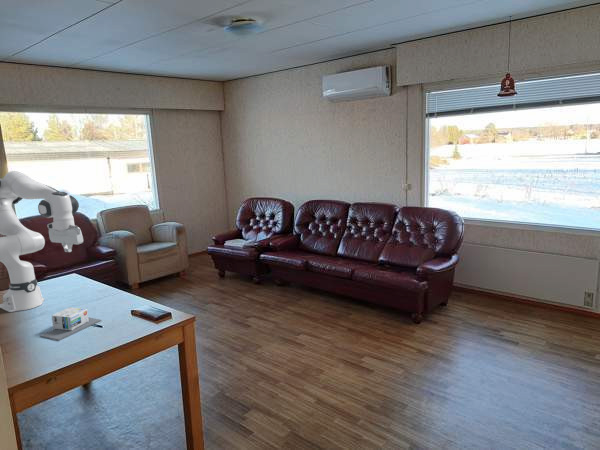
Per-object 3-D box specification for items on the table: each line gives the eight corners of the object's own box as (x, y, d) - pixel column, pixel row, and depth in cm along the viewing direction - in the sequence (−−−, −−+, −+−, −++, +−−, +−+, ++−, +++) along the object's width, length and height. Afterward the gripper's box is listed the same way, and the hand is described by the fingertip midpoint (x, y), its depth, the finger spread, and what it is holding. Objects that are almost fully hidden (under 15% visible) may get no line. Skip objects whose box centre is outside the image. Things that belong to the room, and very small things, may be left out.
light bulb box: (52, 329, 192) (71, 331, 189) (50, 315, 191) (69, 317, 188) (71, 319, 203) (89, 321, 200) (69, 306, 201) (87, 308, 198)
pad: (40, 336, 187) (40, 335, 186) (83, 317, 206) (83, 316, 206) (58, 340, 182) (58, 339, 182) (101, 320, 201) (101, 319, 201)
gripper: (84, 224, 207) (88, 251, 209) (56, 222, 215) (60, 248, 218) (73, 226, 201) (77, 254, 204) (44, 224, 209) (49, 251, 212)
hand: (68, 251), depth 211 cm, fingers closed
